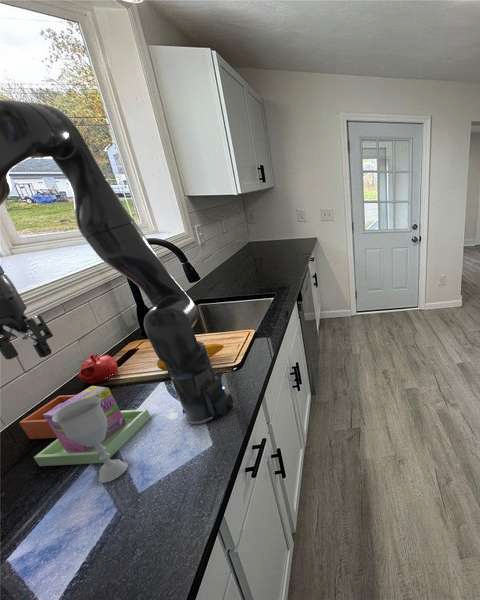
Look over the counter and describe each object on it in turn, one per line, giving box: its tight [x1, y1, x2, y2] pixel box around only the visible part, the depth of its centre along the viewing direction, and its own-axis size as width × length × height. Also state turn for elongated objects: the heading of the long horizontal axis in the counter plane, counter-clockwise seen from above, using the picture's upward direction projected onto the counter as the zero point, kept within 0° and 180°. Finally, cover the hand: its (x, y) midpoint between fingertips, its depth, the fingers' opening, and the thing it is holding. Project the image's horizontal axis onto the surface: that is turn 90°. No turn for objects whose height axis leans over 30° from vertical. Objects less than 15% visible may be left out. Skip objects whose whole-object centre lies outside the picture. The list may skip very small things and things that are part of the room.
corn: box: [156, 343, 225, 371], centre depth 109 cm, size 7×8×20 cm
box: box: [43, 385, 126, 453], centre depth 77 cm, size 10×6×12 cm, turn 169°
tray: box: [33, 408, 152, 467], centre depth 79 cm, size 16×15×3 cm
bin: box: [18, 394, 76, 440], centre depth 84 cm, size 10×10×6 cm
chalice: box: [52, 397, 129, 484], centre depth 67 cm, size 7×7×18 cm
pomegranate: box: [77, 352, 119, 384], centre depth 104 cm, size 10×10×9 cm
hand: (29, 356), depth 78 cm, fingers open, 8 cm apart
